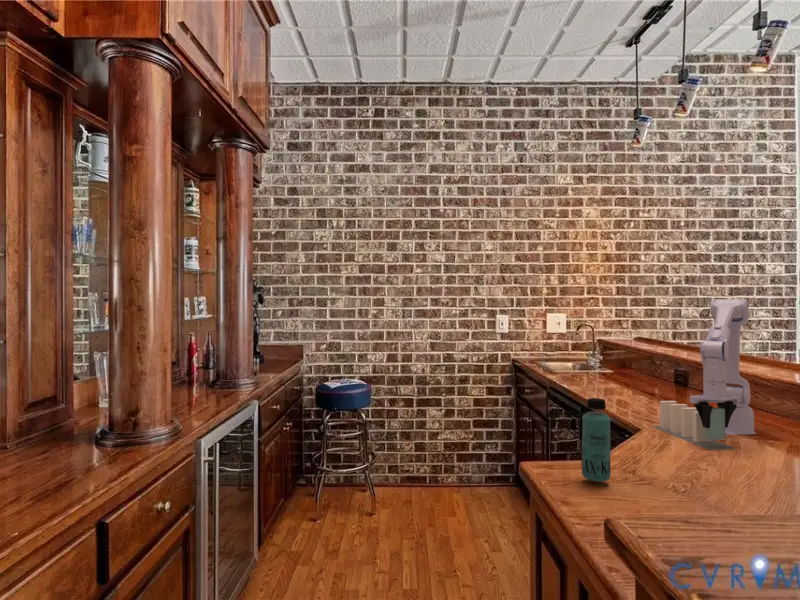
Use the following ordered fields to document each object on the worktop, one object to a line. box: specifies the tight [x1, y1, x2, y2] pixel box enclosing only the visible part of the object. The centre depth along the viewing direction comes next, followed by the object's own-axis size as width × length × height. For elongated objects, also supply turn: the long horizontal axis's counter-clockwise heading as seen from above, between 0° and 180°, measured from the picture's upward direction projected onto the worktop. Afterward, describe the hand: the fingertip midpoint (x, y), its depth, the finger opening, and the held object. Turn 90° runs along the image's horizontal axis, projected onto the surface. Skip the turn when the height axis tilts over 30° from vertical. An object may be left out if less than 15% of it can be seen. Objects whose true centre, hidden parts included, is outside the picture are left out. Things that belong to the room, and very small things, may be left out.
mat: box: [650, 425, 737, 451], centre depth 157 cm, size 9×28×1 cm, turn 5°
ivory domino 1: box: [659, 400, 678, 429], centre depth 168 cm, size 5×2×9 cm, turn 95°
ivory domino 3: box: [681, 406, 697, 437], centre depth 157 cm, size 5×2×9 cm, turn 95°
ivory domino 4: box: [693, 411, 712, 442], centre depth 151 cm, size 5×2×9 cm, turn 95°
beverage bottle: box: [580, 397, 612, 482], centre depth 117 cm, size 6×7×20 cm
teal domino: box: [705, 407, 726, 441], centre depth 146 cm, size 5×2×9 cm, turn 95°
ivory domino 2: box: [670, 403, 689, 433], centre depth 162 cm, size 5×2×9 cm, turn 95°
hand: (715, 427), depth 146 cm, fingers closed on teal domino, 5 cm apart
